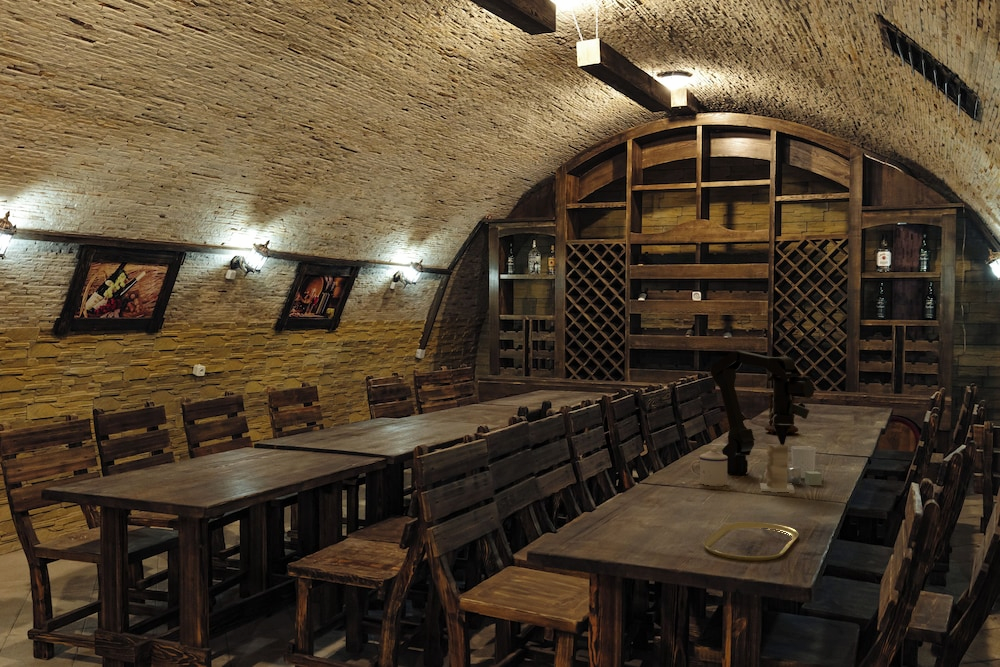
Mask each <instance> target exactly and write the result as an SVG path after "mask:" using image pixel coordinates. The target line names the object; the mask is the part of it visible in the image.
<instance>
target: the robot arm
mask: <svg viewBox="0 0 1000 667" xmlns="http://www.w3.org/2000/svg"><path fill="white" fill-rule="evenodd" d="M742 364H745V365H750V366H753V367H757V368H762V369H765V370H766V371H767V372H769V373H770V374H771V375H770V376H769V378H767V381H768V382H773V383H772V384H773V386H772V387H773V389H772V394H773V399H772V401H773V403H772V404H773V409H772V411H771V418H772V419H771V420H772V424H773V426H774V429H775V431H776V432H775V434H776V436H777V439H778V441H779V444H781V445H784V446H785V442H786V440H787V435H788V433H787V431H788V429H789V428H790V427H792V426H793V424H794V425H795V417H794V418H793V417H792V416H791V415H793V414H794V416H795V415H796V416H798V417H801V418H802V419H804V420H807V418H808V415H809V413H810V409H809V408H807V407H806V405H805V403H803V402H799V403H798V404H796V403H795V402H794V403H793V400H792V398H791V396H793V397H795V398H805V399H810V398H812V397H813V396H814V394H815V385H814V383H813V381H812V380H811V376H802V375H801V373H800V371H799V369H798V368H797V366H796V364H795V361H794V359H793V358H792V357H790V356H788V357H786V356H776V357H775V356H767V355H761V354H758V353H754V352H753V353H752V352H749V351H745V350H743V349H739V350H737V349H735V350H732V351H731V352H729V353H728V354H727V355H725V356H724V357H722V358H720V359H719V360H717V361H716V362H715V361H714V362H713V363H712V364H711V367H710V370H709V372H710V375H711V377H712V380H713V382H714V383H715V384H716V386H718V388H719V389H720V393H721V398H722V399H721V400H722V402H723V407H724V410H725V414H726V417H727V422H728V426H729V429H728V435H727V444H726V445H725V446H724V447H723V448H722V449H721V453H722V454H723V455H726V456H727V457H728V460H727V475H735V476H736V475H737V476H740V475H741V476H746V475H747V473H748V469H749V468H748V467H749V466H748V465H749V464H748V462H749V461H748V459H747V456H750V455H751V452H752V450H753V449H754V446H755V440H756V439H755V438H754V437H755V436H754V433H753V429H752V428H747V427H746V425H745V423H744V420H743V415H742V412H741V407H740V403H739V400H738V394H737V392H736V387H735V383H736V378H737V371H738V370H739V369H740V368H741V366H742Z"/></svg>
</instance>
